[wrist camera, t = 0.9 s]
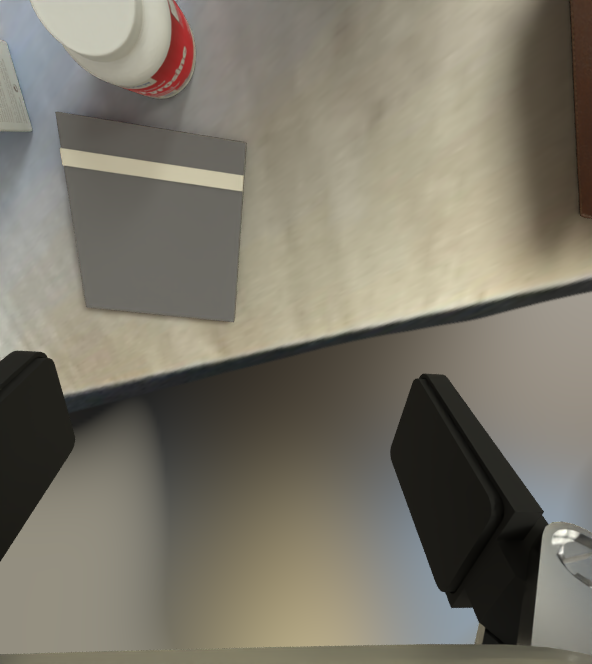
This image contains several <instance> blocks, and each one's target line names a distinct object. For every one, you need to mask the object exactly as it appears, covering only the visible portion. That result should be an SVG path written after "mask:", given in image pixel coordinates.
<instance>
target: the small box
mask: <svg viewBox="0 0 592 664" xmlns="http://www.w3.org/2000/svg"><path fill="white" fill-rule="evenodd" d="M0 131H10V132H31V131H32V127H31V123H30V120H29V116H28V113H27V110H26V106H25V103H24V99H23V96H22V93H21V89H20V86H19V83H18V79H17V76H16V73H15V69H14V66H13V62H12V59H11V56H10V52H9V49H8V45H7V43H6V42H5V41H3V40H0Z"/></svg>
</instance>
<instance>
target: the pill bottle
mask: <svg viewBox="0 0 592 664" xmlns="http://www.w3.org/2000/svg"><path fill="white" fill-rule="evenodd" d="M30 2H31V4H32V7H33V9H34V11H35V12H36V14H37V16H38V18H39V19H40V21H41V22H42V24H43V25H44V26H45V28H46V29H47V30H48V31H49V32H50V33H51V35H52V36H53V37H54V38H55V39H56V40H58V41H59V42H60V43H61V44H62V45H63V47H64V48H65V49H66V51H67V52H68V53H69V54H70V56H71V57H72V58H73V59H74V60H75V61H76V62H77V63H78V64H79V65H80V66H81V67H82V68H84V69H85V70H86V71H88V72H89V73H90V74H92V75H94V76H95V77H97V78H99V79H101V80H103V81H105V82H108V83H111V84H114V85H116V86H119V87H122V88H125V89H127V90H130V91H133V92H136V93H138V94H141V95H144V96H147V97H151V98H156V99H163V98H169V97H172V96H174V95H176V94H178V93H179V92H180V91H182V90H183V89H184V88H185V87H186V85H187V84H188V83H189V81H190V79H191V77H192V75H193V72H194V68H195V62H196V48H195V41H194V37H193V34H192V31H191V28H190V26H189V23H188V21H187V19H186V18H185V16H184V14H183V13H182V11H181V10H180V8H179V7H178V5H177V4H176V2H175V1H174V0H30Z"/></svg>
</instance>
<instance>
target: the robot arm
mask: <svg viewBox="0 0 592 664" xmlns="http://www.w3.org/2000/svg"><path fill="white" fill-rule="evenodd" d="M74 443H75V436H74V432H73V428H72V425H71V421H70V417H69V414H68V410H67V407H66V403H65V400H64V396H63V392H62V389H61V385H60V382H59V378H58V375H57V371H56V367H55V364H54V362H53V360H52V359H50V358H47V356H46V355H45V354H44V353H42V352H32V351H13V352H12V353H10V354H9V355H8V356H6V357H5V358H4V359H3V360H1V361H0V561H1V559H2V558H3V557H4V555H5V554H6V552H7V550H8V549H9V547H10V545H11V544H12V543H13V541H14V539H15V538H16V536H17V535H18V533H19V532H20V530H21V529H22V527H23V526H24V524H25V522H26V521H27V520H28V518H29V516H30V515H31V513H32V512H33V510H34V509H35V507H36V505H37V504H38V503H39V501H40V499H41V498H42V496H43V495H44V493H45V491H46V490H47V489H48V487H49V485H50V484H51V482H52V481H53V479H54V478H55V476H56V475H57V473H58V472H59V470H60V468H61V467H62V465H63V464H64V462H65V461H66V459H67V458H68V456H69V454H70V453H71V451H72V449H73V447H74ZM390 453H391V460H392V463H393V466H394V469H395V472H396V474H397V477H398V480H399V483H400V485H401V488H402V491H403V494H404V496H405V499H406V502H407V505H408V507H409V510H410V513H411V516H412V518H413V521H414V524H415V527H416V530H417V532H418V535H419V538H420V541H421V543H422V546H423V549H424V552H425V554H426V557H427V560H428V563H429V565H430V568H431V571H432V574H433V576H434V579H435V582H436V584H437V586H438V588H439V589H440V590H441V591H442V592H445V593H446V595H447V598H448V601H449V603H450V606H451V608H473V609H474V612H475V614H476V616H477V619H478V621H479V626H478V631H477V635H476V640H475V644H474V645H473V644H468V645H467V644H466V645H465V644H464V645H461V644H460V645H459V644H457V645H456V644H455V645H454V644H441V645H440V644H416V645H363V646H313V647H312V646H311V647H265V648H222V649H183V650H182V649H180V650H141V651H102V652H68V653H34V654H2V655H1V654H0V664H592V533H591V532H589V531H588V530H586V529H583V528H581V527H579V526H576V525H574V524H570V523H565V522H552V523H551V524H548V523H547V522H546V520H545V519H544V517H543V516H542V514H543V512H544V511H543V510H542V508H541V507H540V506H539V504H538V503H537V502H536V500H535V499H534V497H533V496H532V495H531V493H530V492H529V490H528V489H527V488H526V486H525V485H524V484H523V482H522V481H521V479H520V478H519V477H518V475H517V474H516V472H515V471H514V470H513V468H512V467H511V466H510V464H509V463H508V461H507V460H506V459H505V458H504V456H503V455H502V453H501V452H500V450H499V449H498V447H497V446H496V445H495V443H494V442H493V440H492V439H491V438H490V436H489V435H488V433H487V432H486V431H485V429H484V428H483V427H482V425H481V424H480V423H479V421H478V420H477V418H476V417H475V415H474V414H473V413H472V412H471V410H470V408H469V407H468V406H467V404H466V403H465V402H464V400H463V399H462V398H461V396H460V395H459V393H458V392H457V391H456V389H455V388H454V386H453V385H452V384H451V382H450V381H449V379H448V378H447V377H446V376H445V375H439V374H422V375H421V376H420V377H419V379H415V380H414V381H413V383H412V386H411V389H410V392H409V395H408V398H407V401H406V404H405V407H404V410H403V413H402V416H401V419H400V422H399V425H398V428H397V431H396V434H395V437H394V440H393V443H392V446H391V451H390Z"/></svg>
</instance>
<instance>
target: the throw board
mask: <svg viewBox="0 0 592 664" xmlns="http://www.w3.org/2000/svg"><path fill="white" fill-rule="evenodd" d="M56 119H57V125H58V131H59V138H60V144H61V148H60V153H61V159H62V165H64V169H65V176H66V182H67V188H68V195H69V201H70V207H71V214H72V220H73V226H74V233H75V239H76V245H77V252H78V258H79V264H80V271H81V277H82V283H83V290H84V296H85V302H86V307H89V308H99V309H109V310H119V311H129V312H139V313H149V314H159V315H168V316H178V317H188V318H198V319H208V320H218V321H228V322H234V319H235V308H236V293H237V278H238V263H239V248H240V233H241V219H242V204H243V189H244V174H245V159H246V144H247V143H246V142H240V141H234V140H228V139H222V138H216V137H210V136H203V135H197V134H191V133H185V132H179V131H173V130H167V129H160V128H154V127H148V126H142V125H136V124H130V123H124V122H117V121H111V120H105V119H99V118H93V117H87V116H81V115H74V114H68V113H62V112H56Z"/></svg>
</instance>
